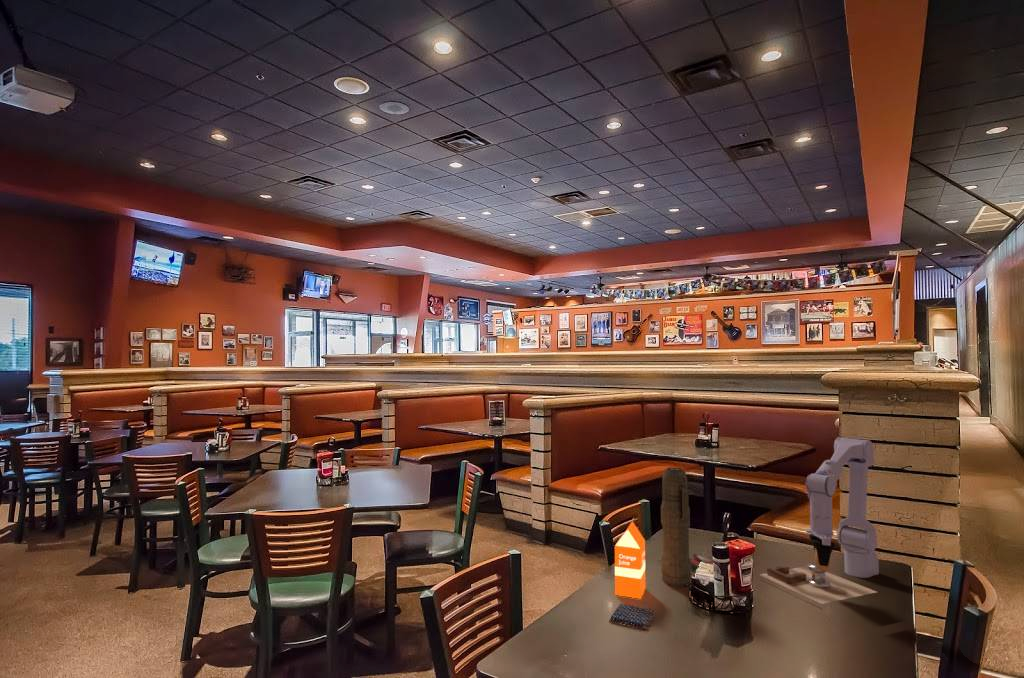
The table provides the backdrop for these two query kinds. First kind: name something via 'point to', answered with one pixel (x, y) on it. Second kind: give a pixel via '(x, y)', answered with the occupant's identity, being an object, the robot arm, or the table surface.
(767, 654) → the table surface
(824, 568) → the peg
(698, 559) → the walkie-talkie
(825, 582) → the bobbin
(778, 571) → the notch block
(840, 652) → the table surface
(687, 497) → the thermos
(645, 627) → the woven mat
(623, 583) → the orange juice
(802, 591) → the jig board
